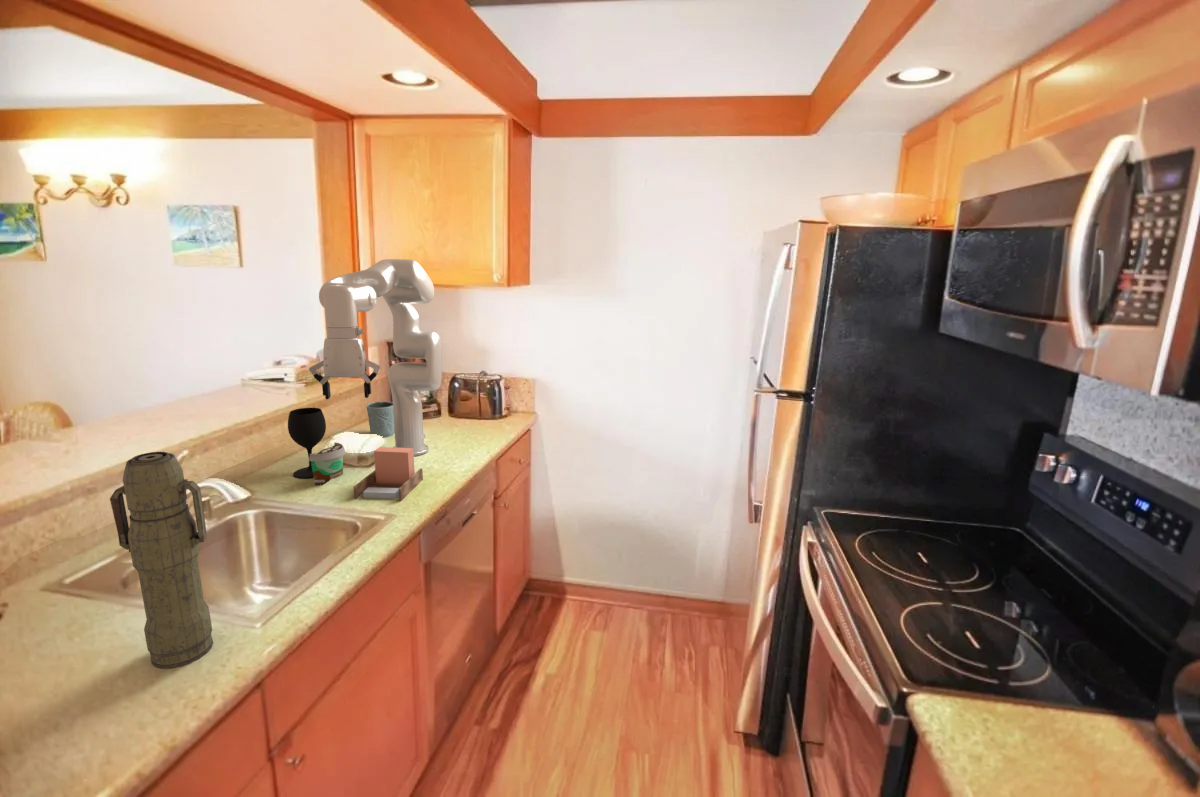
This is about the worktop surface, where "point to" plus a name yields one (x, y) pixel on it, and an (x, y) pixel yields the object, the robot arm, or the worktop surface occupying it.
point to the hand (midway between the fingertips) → (347, 397)
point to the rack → (388, 484)
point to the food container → (327, 464)
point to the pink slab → (394, 464)
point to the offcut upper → (381, 493)
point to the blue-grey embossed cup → (381, 418)
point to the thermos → (165, 556)
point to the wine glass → (306, 433)
